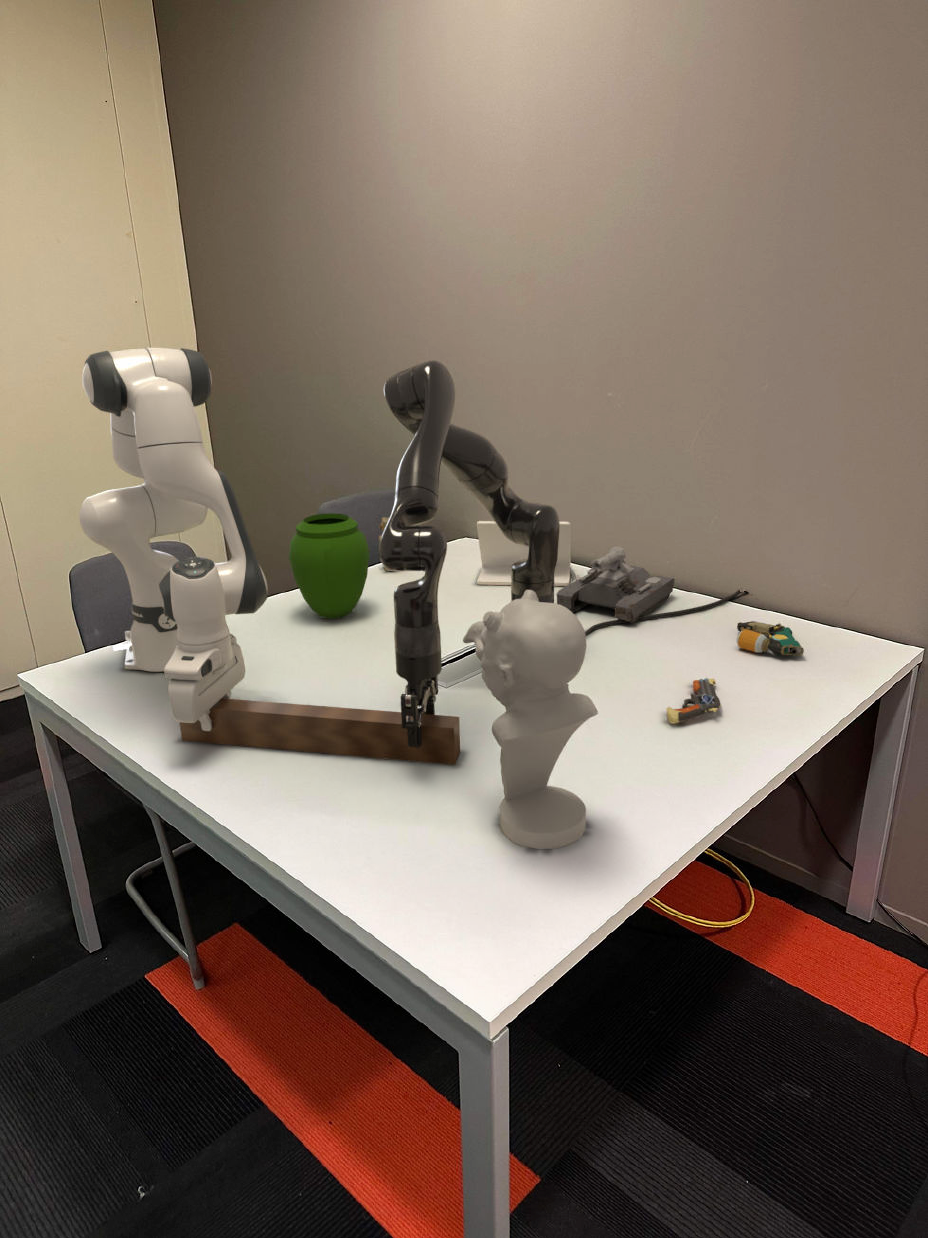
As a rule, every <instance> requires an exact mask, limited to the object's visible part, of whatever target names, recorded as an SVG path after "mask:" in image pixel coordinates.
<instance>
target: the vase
mask: <svg viewBox="0 0 928 1238" xmlns="http://www.w3.org/2000/svg"><path fill="white" fill-rule="evenodd" d="M358 524H359V523H358V521H356V520H355V519H353V518H352V517H350V516H349V515H347V514H344V513H335V512H334V513H333V512H331V513H320V514H313V515H310V516H307V517H305V518H303V519H302V520H301V521H300V522H299V523H298V524H297V525H296V526H295V532H296V533H295V534H294V536H293V537H292V538H291V540H290V542H289V551H288V559H289V564H290V566H291V567H290V568H291V570H292V575H293V578H294V581H295V584H296V586H297V587H298V589H299V591H300V593H301V596H302V597H303V600H304V601H305V603H306V604H307V605H308V607H309V608H310V609H311V611H312V612H314V613H315V614H316V615H317V616H318V617H320V618H324V619H326V620H327V619H329V620H336V619H341V618H345V617H347V616H349V615H350V614H351V613H352V612H353V611H354V610H355V608H356V607H357V605H358V604H359V601H360V599H361V597H362V595H363V592H364V588H365V586H366V581H367V578H368V570H369V561H370V560H369V559H370V548H369V545H368V541H367V537H366V535H365V534H364V533H363V532H362V531H361V530H360V529H359V527H358Z"/></svg>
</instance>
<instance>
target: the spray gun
mask: <svg viewBox="0 0 928 1238" xmlns="http://www.w3.org/2000/svg"><path fill="white" fill-rule="evenodd" d="M736 625H737V626H736V629H737V631H738V632H739V633H738V634H737V637H736V644H737V647H739V649H743V650H746V651H750V652H753V653H759V654H760V653H763V652H764V653H766V652H768V651H769V650H771V651H773V652H776V653H780V654H781V655H782V656H784V655H786V656H800V657H801V656H803V655H804V652H805V648H803V647H802V645H801V644H800V642H799V641H798V640H796V639H795V637H794V636H793V630H792V629H791V628H790V627H788V626H787V627H785V625H782V624H781V622H778V623H776V624H775V625H774V624H769V623H764V622H760V621H755V620H751V621H746V622H741V621H739V622H737V624H736Z"/></svg>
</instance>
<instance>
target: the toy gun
mask: <svg viewBox="0 0 928 1238" xmlns="http://www.w3.org/2000/svg"><path fill="white" fill-rule="evenodd" d="M715 685H717V680H716V679H715V678H708V677H706V678H704V679H703V678H700V679H694V680H693V681H692V688H693V692H694V693H690V698H686V699H684V700H683V704H682V706H681V707H682V708H672V707H671V706H667V707H666V717H667V721H668V722H669V723H670V724H678V723H680V722H684V721H688V720H691V719H694V718H697V717H701V716H704V715H707V714H709V713H711V712H713V713H714V714H715V713H717V711H718V709H719V708H722V705H721V700H720V698H719V697H718V695H717V694H716V691H715ZM695 693H696V694H695Z"/></svg>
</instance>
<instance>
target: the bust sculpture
mask: <svg viewBox="0 0 928 1238" xmlns="http://www.w3.org/2000/svg"><path fill="white" fill-rule="evenodd" d="M585 632H586V631H585V629H584V627H583V624H582V622H581V621H580V620H579V618H578V617H577V616H576V615H575V613H574V612H571V611H570V610H569V609H567V608H566V607H564V606H562V605H559V604H557V603H555V602H554V603H545V602H539V599H538V597H537V595H536V593H535V592H534V591H532V590H526V591H525V592H524V595H523V597H522V598H521V599H516V600H513V601H511V600H510V602H509V603H507V604H506V605H505V606H503V607H502V608H501V610H500V611H499V612H498V611H489V610H488V611H486V612H485V613H484V615H483V616H482V621H477V622H475V623H473V624H471V626H470V627H469V628H468V629H467V632H466V634H465V635H464V636H463V638H462V643H463V644H470V643H471V644H472V643H474V644H475V649H474V650H475V655H476V657H477V658H478V660H479V661H480V665H481V679H482V680H483V682H484V683H485V685H486V688H487V690H489V692H490V694H491V696H492V697H494V698H495V699H496V700H497V701H498V702H499V703H500V704H501V705H502V706H503V707H504V708H505V712H504V713H502V714H500V715H499V716H498V717H497V718H496V719H494V720H493V722H492V723H491V724H492V725H491V733H492V735H493V737H494V739H495V742H496V743H497V745H498V746H499V747H500V759H499V760H500V761H499V762H500V775H501V782H502V787H503V795H504V797H503V798H502V800H501V801H500V804H499V808H498V809H499V828H500V830H501V832H502V833H503V835H504V836H505V837H506V838H508V839H509V840H511V841H512V842H513V843H516V844H518V845H519V846H523V847H527V848H531V849H539V850H549V849H550V850H552V849H557V848H562V847H565V846H569V845H571V844H573V843H575V842H576V841H578V840H579V839H580V838H581V837H582V835H583V834H584V833H585V831H586V822H587V808H586V805H585V803H584V801H583V800H582V799H581V798H580V797H579V796H578V795H577V794H575V793H574V792H571V791H570V790H567V789H565V788H562V787H558V786H552V785H548V783H549V780H550V778H551V776H552V773H553V770H554V768H555V766H556V764H557V761H558V759H559V757H560V755H561V753H562V752H563V750H564V749H565V747H566V746H567V743H568V742H569V740H570V738H572V736H573V735H574V733H575V732H576V731H577V730H579V728H580V727H581V726H582V725H583V724H584V723H586V722H587V721H588V720H589V719H591V718H593V717H595V716H597V715H598V714H599V711H598V709H597V707H596V705H595V703H594V702H593V700H592V699H591V698H590V697H589V695H586V694H583V693H575V692H574V693H571V692H570V689H569V683H570V682H572V680H573V679H574V678H576V677H577V675H578V674H579V672H580V671H581V670H582V667H583V664H584V661H585V659H586V658H585V657H586V652H587V636H586V635H585Z"/></svg>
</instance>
